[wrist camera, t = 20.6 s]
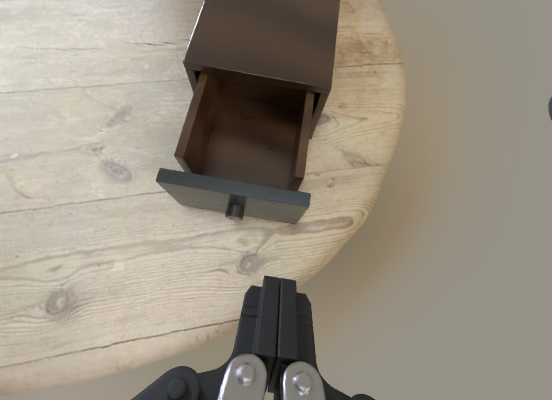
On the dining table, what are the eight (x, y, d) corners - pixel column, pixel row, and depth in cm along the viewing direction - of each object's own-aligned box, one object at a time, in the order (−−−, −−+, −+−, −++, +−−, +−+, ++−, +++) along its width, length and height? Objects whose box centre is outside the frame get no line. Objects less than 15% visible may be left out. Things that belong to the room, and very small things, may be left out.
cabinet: (311, 139, 30) (331, 88, 22) (202, 120, 30) (182, 61, 22) (322, 46, 35) (342, -24, 27) (229, 29, 35) (220, -48, 26)
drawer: (294, 235, 26) (307, 221, 19) (177, 216, 25) (150, 195, 19) (310, 112, 30) (325, 67, 24) (212, 94, 30) (200, 44, 24)
